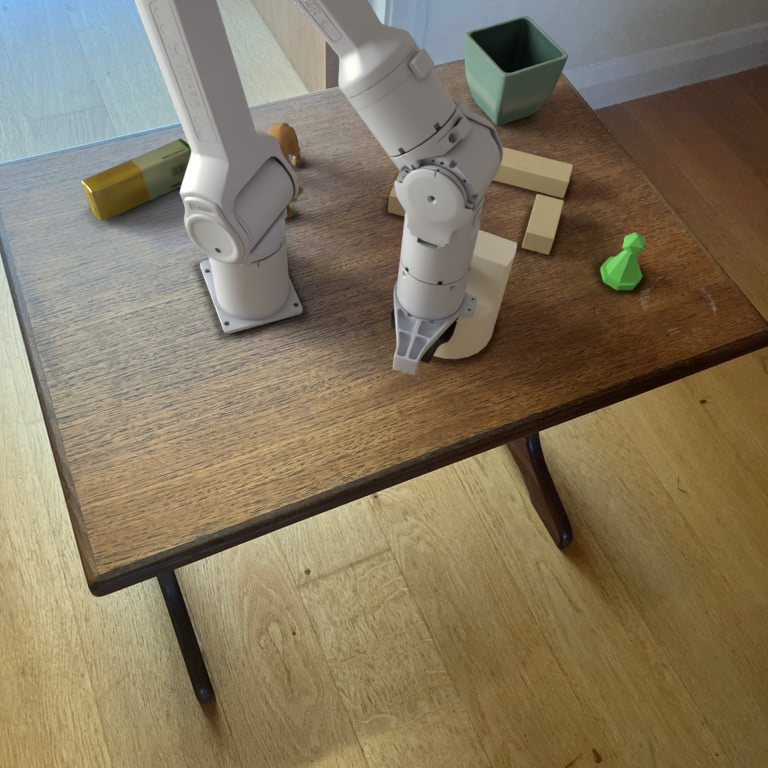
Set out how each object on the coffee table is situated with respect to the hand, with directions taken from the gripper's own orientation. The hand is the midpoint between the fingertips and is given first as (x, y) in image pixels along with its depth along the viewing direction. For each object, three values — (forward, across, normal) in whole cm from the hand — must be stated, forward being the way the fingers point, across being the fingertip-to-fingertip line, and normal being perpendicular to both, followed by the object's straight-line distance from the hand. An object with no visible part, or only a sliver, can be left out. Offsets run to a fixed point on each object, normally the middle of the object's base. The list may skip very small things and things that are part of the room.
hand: (419, 355), depth 77 cm
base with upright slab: (+2, +6, -1) cm, 7 cm away
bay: (+2, +25, 0) cm, 25 cm away
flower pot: (+2, +40, +1) cm, 40 cm away
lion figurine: (+2, +16, +20) cm, 26 cm away
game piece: (+2, +18, -17) cm, 25 cm away
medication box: (+2, +12, +34) cm, 36 cm away
